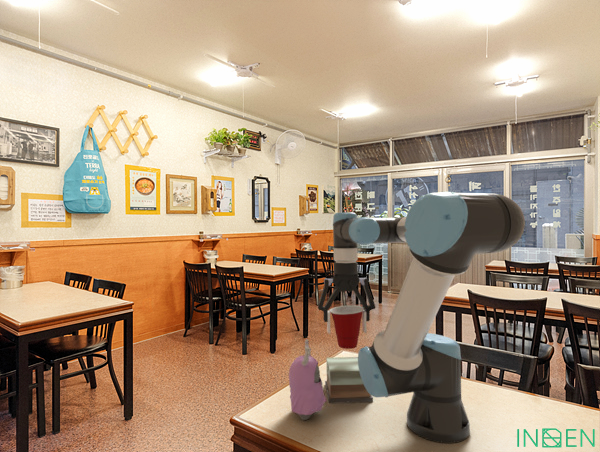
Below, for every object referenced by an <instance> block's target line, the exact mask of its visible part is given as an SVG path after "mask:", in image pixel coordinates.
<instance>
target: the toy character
mask: <svg viewBox="0 0 600 452" xmlns="http://www.w3.org/2000/svg"><path fill="white" fill-rule="evenodd" d="M309 342H310V340H309V339H305V340H304V351H305V353H304V354H303V355H299V356H297V357H296V358H295V359H294V360H293V362H291V364H290V367H289V370H288V381H289V382H288V383H289V388H290V389H289V392H290V396H289V398H290V405H291V409H290V410H291V412H293V413H294V414H298V417H299V418H300V419H301V420H303V421H308V419H309V418H310V417H312V414H315V413H317V412H320V411H322V408H323V406H324V404H325V403H326V402H327V398H326V396H325V394H324V389H323V388H324V387H323V381H322V378H321V374H320V372H321V371H320V367H319V361H318V360H317V359H316V358H315V357H314V356H312V355H311V351H312V348H310V346H309V345H310V344H309Z"/></svg>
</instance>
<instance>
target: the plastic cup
mask: <svg viewBox="0 0 600 452" xmlns="http://www.w3.org/2000/svg"><path fill="white" fill-rule="evenodd" d="M363 310H365V308H364V307H363V306H360V305H340V306H335V307H332V308H329V310H328V311H330V315H331V316H332V319H333V324H334V325H333V326H334V330H335V335H336V341H337V344H338V345H337V346H338V347H339V348H341V349H346V350H350V349H355V348H357V346H358V342H359V336H360V329H361V323H362V312H363Z"/></svg>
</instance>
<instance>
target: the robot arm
mask: <svg viewBox="0 0 600 452" xmlns="http://www.w3.org/2000/svg"><path fill="white" fill-rule="evenodd" d="M357 216H358V215H357V214H356V213H355V212H351V211H350V212H347V211H346V212H336V213H334V214H333V218H332V233H333V235H332V238H333V240H332V241H333V261H334V263H333V277H332V278H326V277H325V278H324V279H323V287H322V288H323V289H322V291H321V295H320V297H319V302H318V303H317V309H318V310H319V311H322V312H323V322H324V323H326V330H327V334H331V312H330V311H329V310H330V309H331V307H332V305H333V303H334V301H335V300H336V298H337V296H338V295H339V294H340V292H343V293H344V292H350V293H351V292H353V293H354V294H355V296H356V297H357V299H358V301H359V302H360V304H361V305H362V307H363V308H364V310H363V312H362V318H361V323H362V332H363V333H364V334H367V329H368V328H367V325H368V324H367V322H370V320H371V317H370V312H371V311H372V310H375V309H376V305H375V302H374V299H373V295H372V293H371V291H370V287H369V279H368V278H367V277H359V267H358V265H359V263H358V262H357V261H358V245H362V246H363V245H371V244H396V243H397V244H400V243H401V244H406V245H407V246H408V247H409V248H408V250H409V251H408V252H409V253H410V255H411V257H412V261H411V263H410V264H409V266H408V267H409V268H408V270H407V272H406V275H405V278H404V281H403V283H402V286H401V289H400V291H399V294H398V296H397V298H396V301H395V304H394V306H393V309H392V311H391V314H390V316H389V319H388V321H387V324H386V327H385V329H384V330H381V331H380V332H378V333H377V335H375V337H374V339H373V341H372V345H371V346H364V347H362V348H361V347H360V349H359V350H358V354H357V357H358V367H359V372H360V376H361V379H362V382H363V384H364V386H365V388H366V390H367V391H368V393H369V394H370V395H372V397H373V398H389V397H393V396H398V395H404V394H409V393H413V394H412V396H411V399H410V403H409V406H408V409H407V412H406V426H408V429H409V430H410V431H412V433H414V434H415V435H417V436H419V437H421V438H423V439H425V440H429V441H431V442H437V443H442V444H443V443H444V444H445V443H447V444H451V443H460V442H462V441H464V440H466V439H467V438H469V436H470V432H471V429H470V425H471V424H470V421H469V417H468V413H467V411H466V409H465V407H464V404H463V400H462V357H461V347H460V344H459V343H458V342H457V341H456V340H455V339H453V338H450V337H448V336H445V335H441V334H437V333H429V330H430V328H431V327H432V325H433V322H434V320H435V318H436V317H437V314H438V312H439V310H440V308H441V306H442V303H443V301H444V300H445V297H446V295H447V293H448V291H449V288H450V287H451V285H452V282H453V280H454V278H455V277H456V276H459V275H462V274H465V273H466V272H467V271H468V269H469V267H470V266H471V263H472V261H473V259H474V257H475V256H476V255H477V254H481V255H482V254H493V253H494V254H495V253H501V252H503V251H506V250H509V249H510V248H512V247H513V246H515V244H517V243H518V242H519V240H521V238H522V236H523V233H524V230H525V227H526V225H525V224H526V219H525V215H524V212H523V210H522V208H521V207H520V206H519V204H518V203H516V202H515V201H514V200H513V199H512V198H510V197H508V196H506V195H503V194H498V193H492V192H491V193H489V192H488V193H487V192H485V193H482V192H481V193H480V192H479V193H478V192H477V193H476V192H475V193H474V192H454V191H441V192H430V193H427V194H425V195H422V196H420V197H419V198H418V199H416V200H415V201H414V203H412V204H411V206H410V207H409V210H408V211H407V214H406V216H399V217H368V216H363V217H362V216H360V217H357ZM332 283H333V284H334V285H335V287H334V289H333V291H332V293H331V294H330V296H329V298H328V300H327V301H326V297H327V294H328V291H329V286H331V285H332ZM359 284H361V286H362V287H363V290H364V292H365V296H366V299H367V301H368V304H367V303H366V301H365V299H364V297H363V296H362V294H361V292H360V291H359V289H358V288H357V286H358V285H359ZM325 301H326V303H325ZM324 303H325V305H324Z"/></svg>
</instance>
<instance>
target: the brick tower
mask: <svg viewBox="0 0 600 452" xmlns="http://www.w3.org/2000/svg"><path fill="white" fill-rule="evenodd" d="M324 385H325V389H326V394H327V399H328V403H329V404H335V403H337V404H338V403H339V404H341V403H343V404H344V403H373V402H374V397H373V396H372V395H370V394H369V393H368V391H367V390H366V388H365V386H364V384H363V382H362V379H361V376H360V372H359V367H358V356H346V357H343V356H342V357H339V356H338V357H326V380H324Z"/></svg>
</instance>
